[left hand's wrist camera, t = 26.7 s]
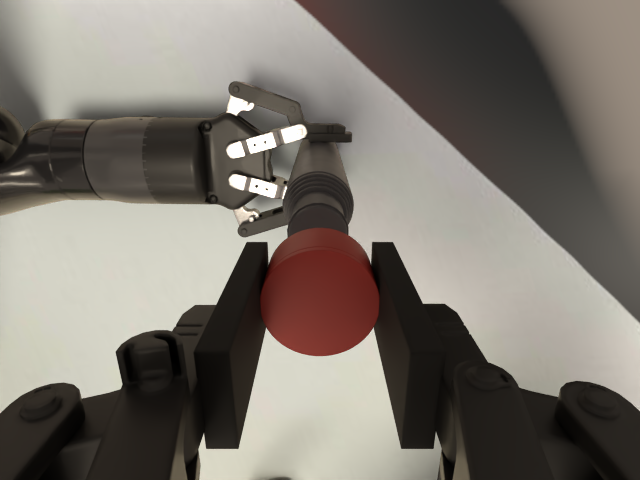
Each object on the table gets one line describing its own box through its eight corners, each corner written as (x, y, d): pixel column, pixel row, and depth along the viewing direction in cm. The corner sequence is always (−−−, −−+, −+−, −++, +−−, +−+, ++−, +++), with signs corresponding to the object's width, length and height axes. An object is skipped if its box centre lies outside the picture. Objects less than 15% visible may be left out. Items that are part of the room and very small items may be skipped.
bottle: (295, 167, 42) (266, 264, 19) (303, 128, 40) (283, 182, 17) (332, 175, 42) (349, 282, 19) (342, 137, 40) (372, 203, 18)
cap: (366, 323, 15) (373, 359, 13) (267, 319, 15) (259, 353, 13) (377, 230, 14) (386, 253, 12) (268, 224, 14) (259, 247, 12)
